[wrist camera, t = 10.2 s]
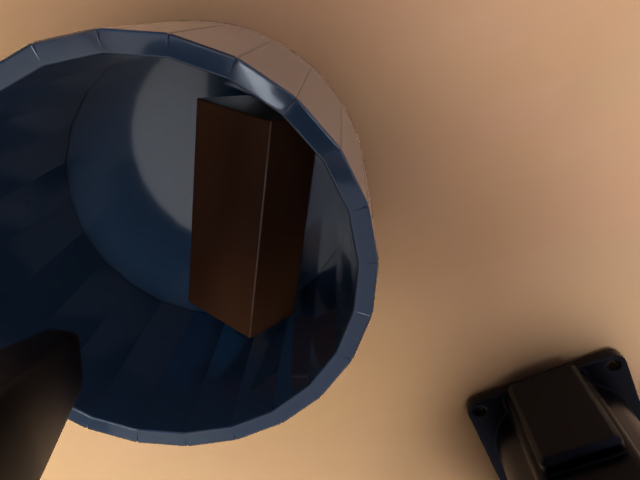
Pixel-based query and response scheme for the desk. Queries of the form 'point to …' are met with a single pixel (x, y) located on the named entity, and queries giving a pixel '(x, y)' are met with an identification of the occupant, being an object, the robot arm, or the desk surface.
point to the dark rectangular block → (247, 212)
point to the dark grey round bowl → (169, 228)
